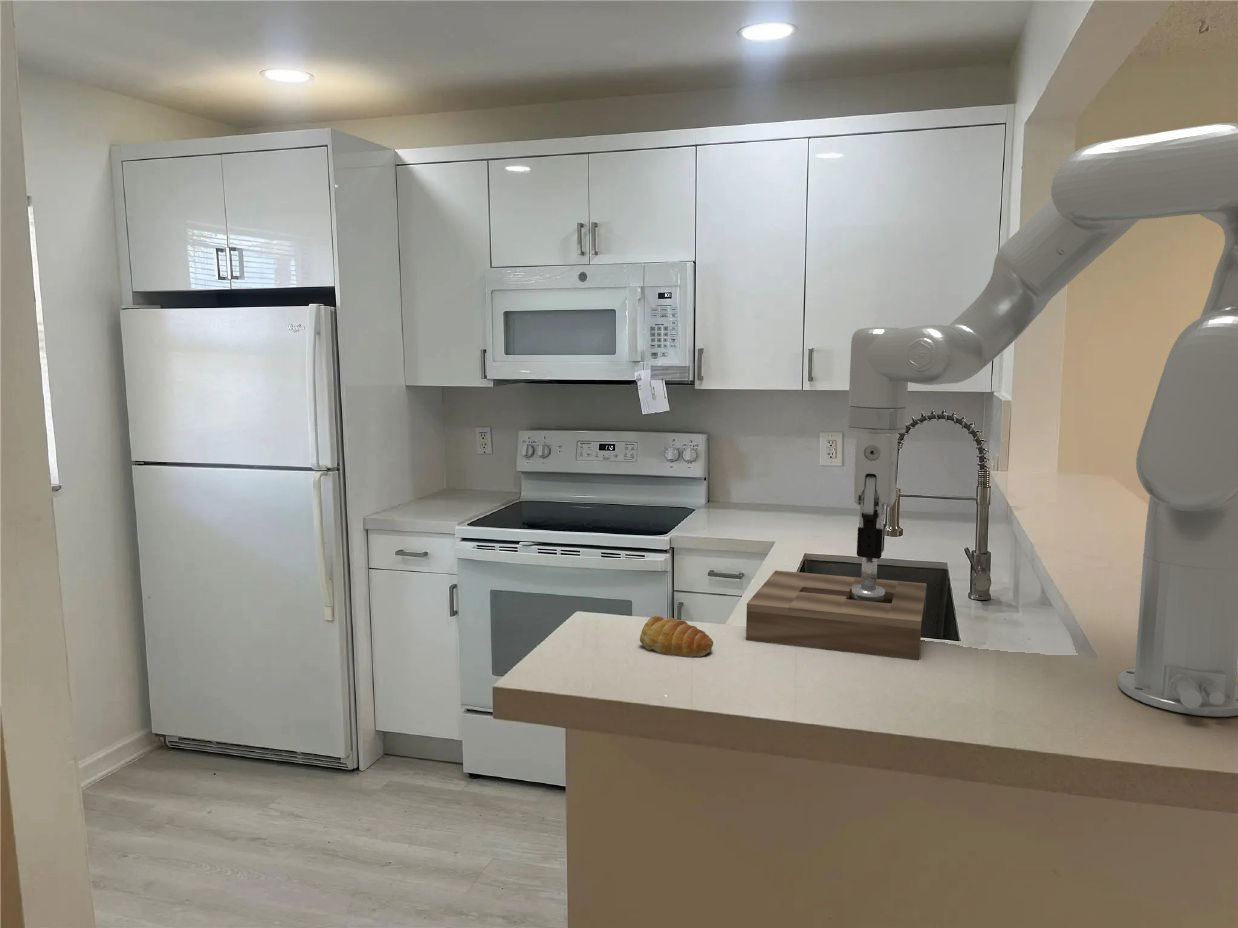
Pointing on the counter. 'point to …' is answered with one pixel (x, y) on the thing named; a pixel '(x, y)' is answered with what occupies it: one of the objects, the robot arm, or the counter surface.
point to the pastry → (675, 637)
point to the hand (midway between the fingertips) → (870, 553)
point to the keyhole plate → (837, 615)
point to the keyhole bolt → (869, 580)
